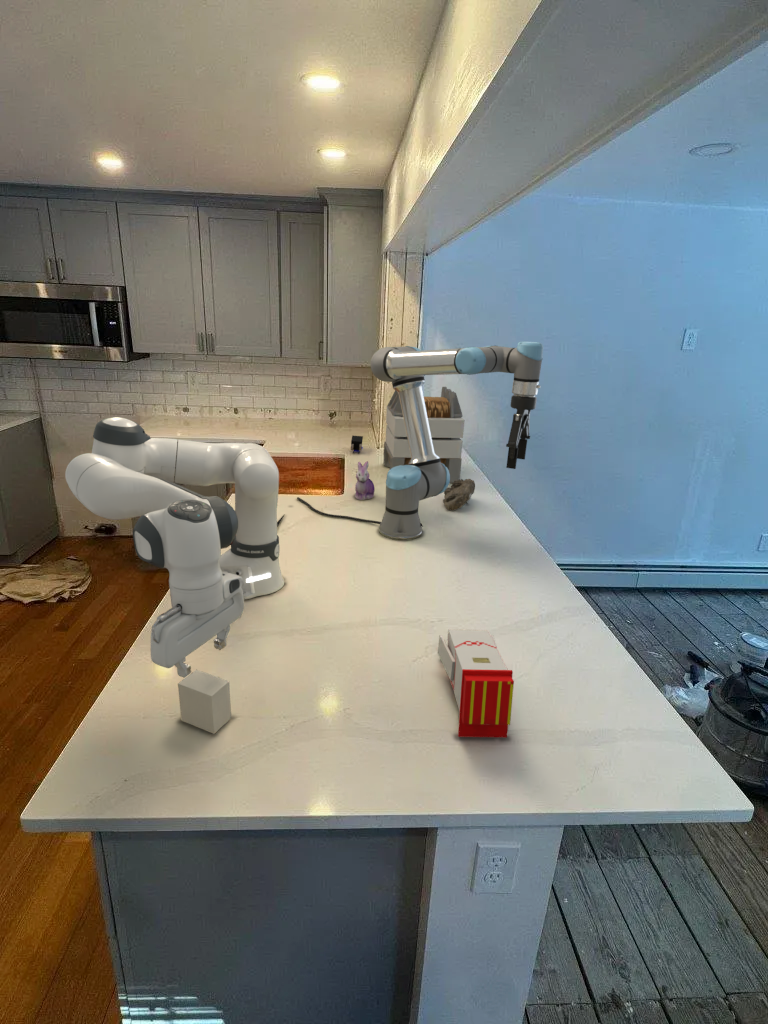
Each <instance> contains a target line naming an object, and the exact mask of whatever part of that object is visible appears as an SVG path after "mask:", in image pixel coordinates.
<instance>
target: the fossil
mask: <svg viewBox="0 0 768 1024" xmlns="http://www.w3.org/2000/svg"><path fill="white" fill-rule="evenodd" d="M475 490H476V483H475V480H473V479H471V478H466V479H463V478H460V480H454V482H453V483H451V486H450V487H447V489H446V490H445V491H444V492H443V494H444V498H443V499H442V502H443V503H444V507H445V508H446V509H447V510H448V511H456V510H458V509H462V507H463V506H465V505H468V504H469V503H468V502H469V501H470V500H471V497H472V496H473V495H474V494H475Z"/></svg>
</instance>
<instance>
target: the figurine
mask: <svg viewBox="0 0 768 1024" xmlns="http://www.w3.org/2000/svg"><path fill="white" fill-rule="evenodd" d="M368 468H369V460H367V461H365V463H364V464H363V465H362V462H360V461H358V462H357V472H356V474H355V478H356V480H357V481H356V483H355V488H354V489H355V493H354V497H355V499H356V500H361V501H362V500H363V501H364V500H370V499H372V498H374V496H375V491H376V488H375V484H374V482H373V481H372V479H370V473H369V471H368Z"/></svg>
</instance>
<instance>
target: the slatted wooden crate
mask: <svg viewBox="0 0 768 1024" xmlns="http://www.w3.org/2000/svg"><path fill="white" fill-rule="evenodd" d="M440 393H441V394H440V396H424V402H425V407H426V412H427V417H428V422H429V427H430V432H431V437H432V442H433V447H434V452H435V454H436V455H437V456H439V457H440V461H441V463H443V464H444V465H445V467H447V468H448V470H449V474H450V482H449V484H453V482H454V480H461V472H462V461H463V460H462V453H463V442H464V441H463V440H462V439H463V438H464V431H465V430H464V429H465V419H464V418H463V411H462V408H461V405H460V402H459V398H458V395H457V392H455V391H453V390H452V389H451V388H447V386H442V387H441V392H440ZM385 414H386V415H385V423H386V428H385V438H384V442H383V466H384V467H388V468H389V470H390V469H391V468H393V467H395V466H399V465H403V466H404V465H408V463H409V462H410V460H411V453H410V448H409V444H408V439H407V434H406V429H405V424H404V419H403V414H402V409H401V404H400V399H399V394H398V392H397V391H396V390H394V392H393V394H392V395H391V398H390V400H389V402H388V404H387V405H386V413H385Z"/></svg>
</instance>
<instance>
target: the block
mask: <svg viewBox="0 0 768 1024" xmlns="http://www.w3.org/2000/svg"><path fill="white" fill-rule="evenodd" d="M177 689H178V690H177V691H178V699H179V700H178V701H179V711H180V720H181V722H184V723H186V724H188V725H192V726H194V727H196V728H199V729H201V730H203V731H206V732H208V733H210V734H214V735H215V734H216V733H217V732H218V731H219V730H220V729H221V728H223V726H225V724H226V723H228V722H229V721H230V720H231V719H232V706H231V705H232V704H231V689H230V680H228V679H224V678H222V677H219V676H216V675H213V674H210V673H208V672H205V671H202V670H199V669H195V670H193V671H191V673H190V674H189V675H188V676H186V677H185V678H183V679H182V680H180V681H179V682H178V683H177Z"/></svg>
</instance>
